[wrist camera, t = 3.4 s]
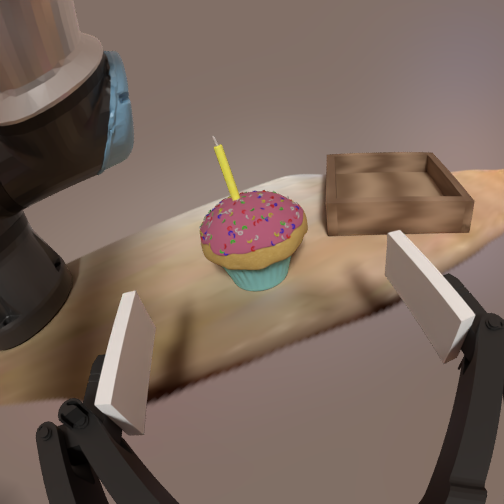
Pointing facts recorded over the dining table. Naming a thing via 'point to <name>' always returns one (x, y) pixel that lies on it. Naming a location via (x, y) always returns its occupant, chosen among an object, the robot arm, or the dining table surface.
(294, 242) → the cupcake
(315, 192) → the dining table surface
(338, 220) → the tray
